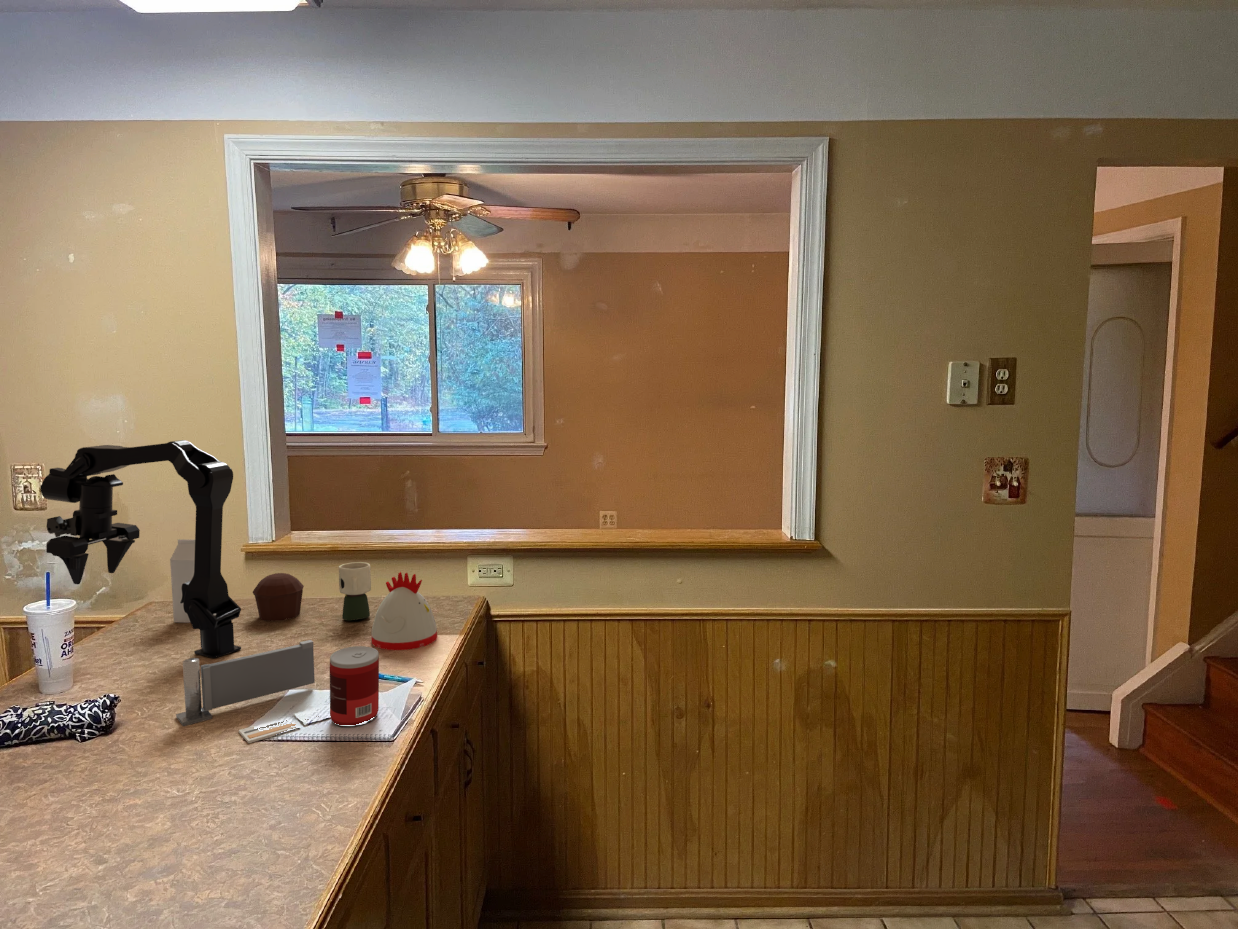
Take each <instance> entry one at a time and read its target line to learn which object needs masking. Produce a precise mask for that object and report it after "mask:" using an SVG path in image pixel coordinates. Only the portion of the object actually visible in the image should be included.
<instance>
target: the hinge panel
mask: <svg viewBox="0 0 1238 929" xmlns="http://www.w3.org/2000/svg"><path fill="white" fill-rule="evenodd" d="M314 652H315V651H314V641H313V640H312V639H308V640H303V641H299V644H295V645H291V646H287V647H281V648H276V649H272V650H267V651H264V652H260V653H259V652H258V653H254V654H251V655H246V656H240V657H236V658H231V659H227V660H221V661H218V662H213V663H208V664H207V663H205V664H202V665H200V684H201V702H202V707H203V709H204V710H205V711H209V712H210V711H212V710H214V709H218V708H222V707H226V706H230V705H234V704H239V703H242V702H245V701H249V700H254V699H257V698H261V697H265V696H268V695H273V694H277V693H281V692H284V691H289V690H293V689H296V688H300V687H304V686H308V685H312V684H315V680H316V679H315V660H314V659H315V658H314V656H315V655H314Z"/></svg>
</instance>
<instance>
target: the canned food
mask: <svg viewBox="0 0 1238 929" xmlns="http://www.w3.org/2000/svg"><path fill="white" fill-rule="evenodd" d="M379 654H380V653H379V651H378V649H376V648H374V647H372V646H366V645H355V646H354V645H353V646H348V647H344V648H339V649H337V650H336V651H333V653H332V654H331V655H330V657H329V703H330V716H331V718H330V719H331V721H332V723H333V722H334V723H333V724H335V723H336V724H339V725H356V724H359V723H362V722H364V721H368V720H370V719H371V718H373V717H375V716H376V715H378V713H379V710H380V709H379V707H380V706H379V705H380V704H379V699H380V696H379V694H380V692H379V691H380V685H379V683H380V682H379V680H380V678H379V677H380V676H379V675H380V656H379ZM376 717H377V716H376ZM376 717H375V718H376ZM336 724H335V725H336ZM339 725H338V726H339Z"/></svg>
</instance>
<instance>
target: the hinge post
mask: <svg viewBox="0 0 1238 929" xmlns="http://www.w3.org/2000/svg"><path fill="white" fill-rule="evenodd" d="M182 670H183V671H182V674H183V675H182V676H183V687H184V688H183V690H184V704H185V705H184V706H185V711H182V712H179V713H176V714H175V718H176V719H177V721H179V723H180V725H181V726H182V727H185V726H188V725H193V724H196V723H200V722H204V721H208V720H212V719H213V714H212V713H211V712H210V710H209V711H205V710H204V709H203V701H202V683H201V665H200V658H197V657H192V658H187V659H184V660H183V661H182Z"/></svg>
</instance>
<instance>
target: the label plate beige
mask: <svg viewBox="0 0 1238 929" xmlns="http://www.w3.org/2000/svg"><path fill="white" fill-rule="evenodd" d="M286 721H287V720H286ZM283 722H284V721H283ZM283 722H281V723H283ZM279 723H280V722H278V726H279ZM273 725H275V726H276V725H277V723H274V724H270V725H267V726H266V727H267V728H269V726H273ZM281 725H282V724H280V726H279V727H270V728H269V730H263V731H259V730H258V728H257V729H254V726H255V725H253V726H252V725H251V726H248V727H245V728H240V729H238V734H240V735H241V737H242V739H244V740H245V741H246V742H247V744H251V743H254V742H258V741H262V740H265V739H269V738H271V737H275V735H276V734H279V733H281V732H284V731H287V730H288V729H293V728H296V727H291V726H295V725H296V724H292V723H291V724H286V725H284V724H283V726H281ZM266 727H260V728H266ZM260 728H259V729H260ZM271 728H272V729H271ZM279 735H280V734H279ZM276 736H277V735H276Z"/></svg>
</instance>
